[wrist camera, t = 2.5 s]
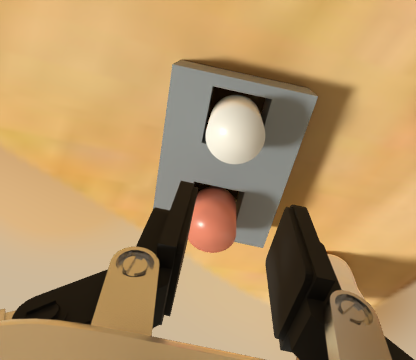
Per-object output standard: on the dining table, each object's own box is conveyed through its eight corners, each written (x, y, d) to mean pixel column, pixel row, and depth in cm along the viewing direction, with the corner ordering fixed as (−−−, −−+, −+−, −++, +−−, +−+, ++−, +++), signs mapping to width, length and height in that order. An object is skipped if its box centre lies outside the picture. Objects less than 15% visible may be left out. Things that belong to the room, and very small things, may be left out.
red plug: (240, 191, 29) (241, 217, 25) (230, 227, 31) (229, 256, 27) (196, 182, 29) (190, 206, 25) (189, 218, 31) (182, 246, 27)
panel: (307, 87, 28) (318, 96, 24) (260, 225, 35) (263, 247, 31) (180, 59, 28) (172, 64, 24) (160, 204, 35) (151, 224, 31)
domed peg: (267, 100, 25) (272, 114, 21) (253, 148, 27) (256, 169, 23) (215, 89, 25) (211, 101, 21) (205, 138, 27) (200, 157, 23)
